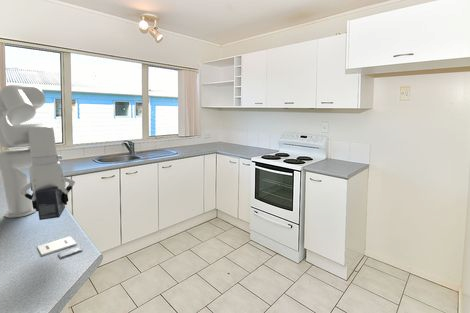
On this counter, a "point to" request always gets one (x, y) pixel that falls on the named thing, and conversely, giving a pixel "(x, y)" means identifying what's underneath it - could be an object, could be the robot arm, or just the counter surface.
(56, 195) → the small box
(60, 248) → the outlet plate
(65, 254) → the phone
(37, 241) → the counter surface
